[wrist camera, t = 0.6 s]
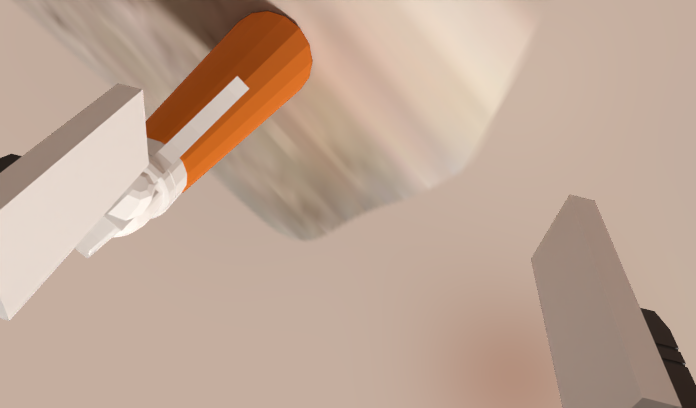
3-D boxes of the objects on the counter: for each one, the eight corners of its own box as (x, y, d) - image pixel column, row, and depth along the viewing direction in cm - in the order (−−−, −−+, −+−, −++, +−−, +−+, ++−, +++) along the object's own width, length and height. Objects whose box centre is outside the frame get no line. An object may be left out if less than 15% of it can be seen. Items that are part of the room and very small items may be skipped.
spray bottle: (365, 31, 37) (240, 242, 16) (273, 112, 43) (89, 351, 21) (301, -46, 35) (57, 78, 14) (213, 49, 40) (-61, 245, 19)
